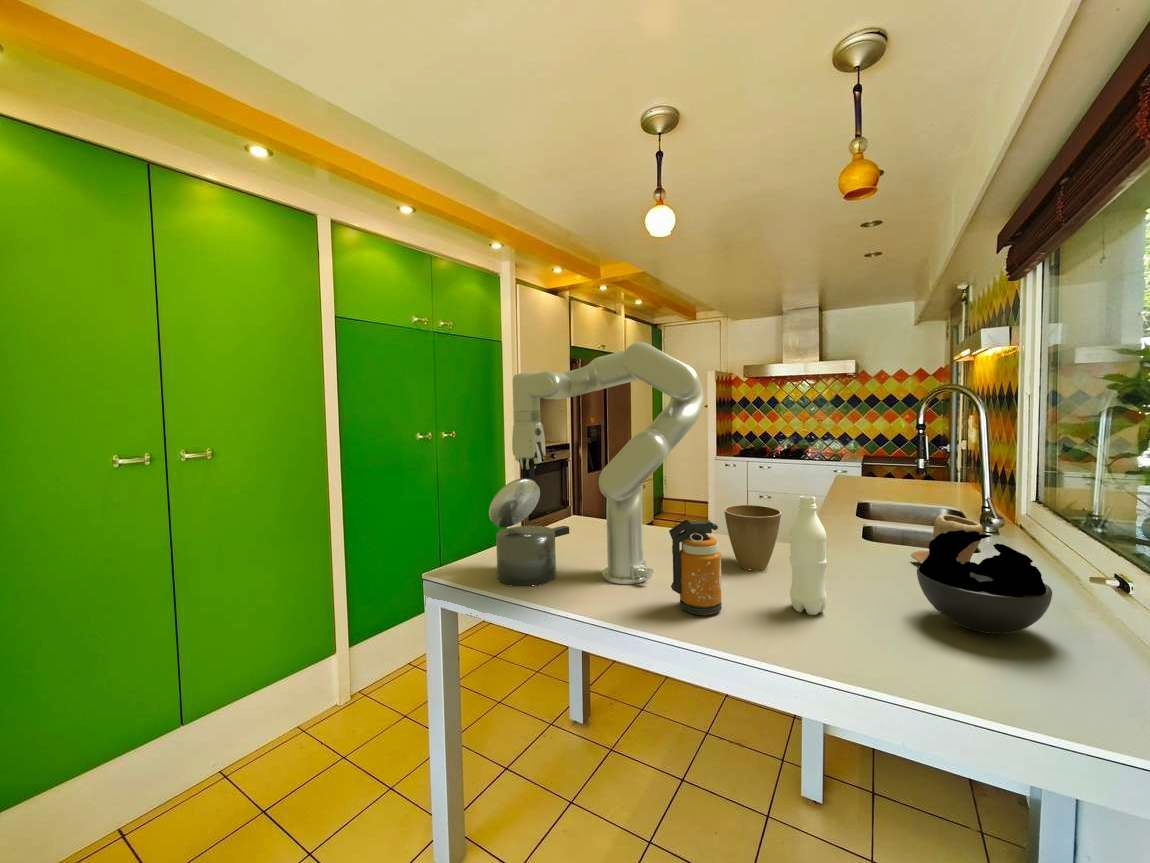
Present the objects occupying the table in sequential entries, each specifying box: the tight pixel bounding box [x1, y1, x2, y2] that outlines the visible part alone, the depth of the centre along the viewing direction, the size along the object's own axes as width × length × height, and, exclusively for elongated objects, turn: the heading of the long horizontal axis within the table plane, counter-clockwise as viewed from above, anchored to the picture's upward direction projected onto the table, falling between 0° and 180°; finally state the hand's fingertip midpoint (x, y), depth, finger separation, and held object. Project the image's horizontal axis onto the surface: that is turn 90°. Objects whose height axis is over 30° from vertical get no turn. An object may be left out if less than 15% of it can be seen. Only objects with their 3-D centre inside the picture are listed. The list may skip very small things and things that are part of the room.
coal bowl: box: [916, 530, 1053, 634], centre depth 92 cm, size 20×20×19 cm
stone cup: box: [910, 513, 984, 565], centre depth 123 cm, size 15×12×15 cm
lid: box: [488, 477, 541, 528], centre depth 132 cm, size 16×16×3 cm
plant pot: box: [723, 504, 782, 571], centre depth 131 cm, size 15×15×16 cm
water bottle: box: [789, 495, 828, 616], centre depth 102 cm, size 7×7×25 cm
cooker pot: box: [495, 525, 570, 587], centre depth 132 cm, size 18×23×12 cm
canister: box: [668, 519, 723, 616], centre depth 105 cm, size 9×11×20 cm
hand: (528, 482), depth 133 cm, fingers closed
